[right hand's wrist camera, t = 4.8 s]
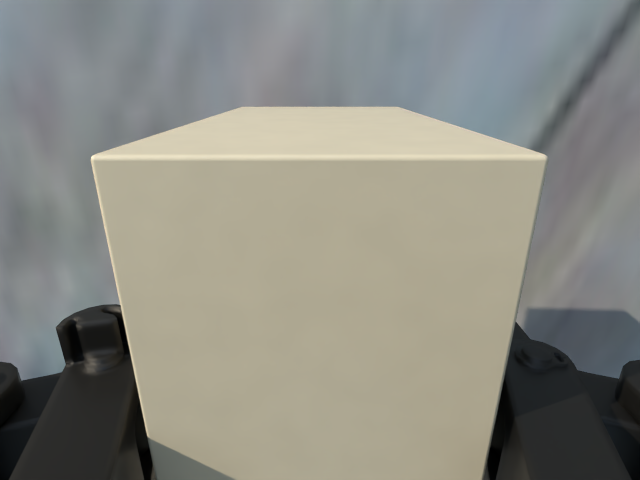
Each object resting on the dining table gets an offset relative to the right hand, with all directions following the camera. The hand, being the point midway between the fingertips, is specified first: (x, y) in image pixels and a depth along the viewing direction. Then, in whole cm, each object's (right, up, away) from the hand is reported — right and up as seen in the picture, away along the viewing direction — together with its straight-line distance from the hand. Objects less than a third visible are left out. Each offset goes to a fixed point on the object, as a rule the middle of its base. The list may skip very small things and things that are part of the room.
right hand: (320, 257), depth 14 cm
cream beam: (0, -7, +3) cm, 8 cm away
